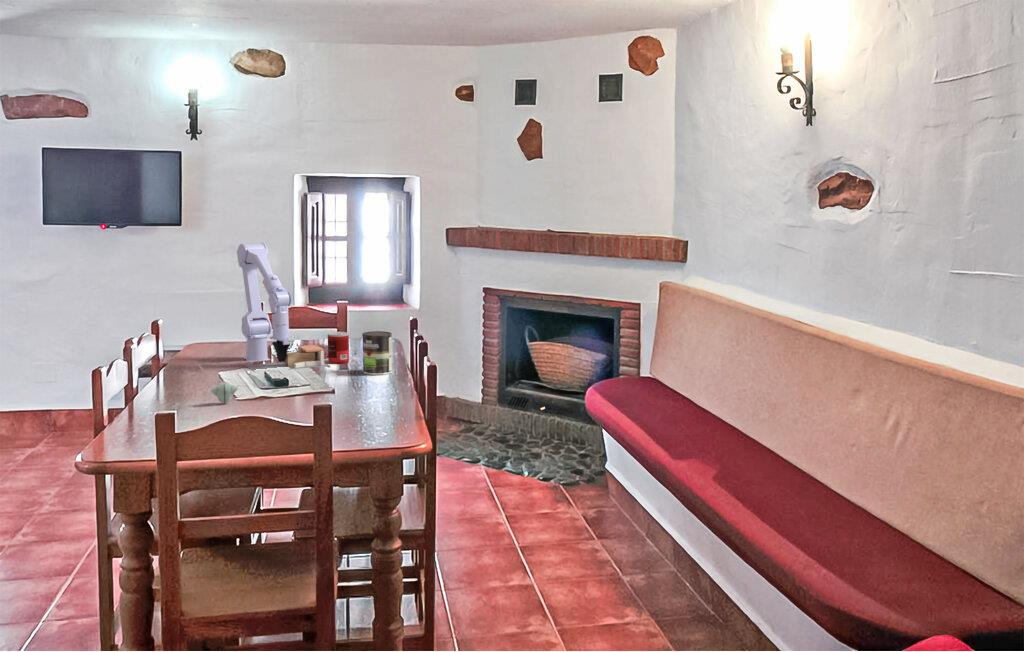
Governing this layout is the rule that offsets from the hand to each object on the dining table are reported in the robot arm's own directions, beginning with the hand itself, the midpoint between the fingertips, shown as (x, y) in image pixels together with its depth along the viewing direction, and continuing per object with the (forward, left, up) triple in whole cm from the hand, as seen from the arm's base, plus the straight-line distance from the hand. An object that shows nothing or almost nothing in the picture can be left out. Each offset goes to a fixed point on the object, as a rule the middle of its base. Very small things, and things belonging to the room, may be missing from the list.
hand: (281, 361), depth 335 cm
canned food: (-1, +22, -2) cm, 22 cm away
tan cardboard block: (0, +7, -2) cm, 7 cm away
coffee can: (+24, +28, -2) cm, 37 cm away
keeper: (0, +2, -2) cm, 3 cm away
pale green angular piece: (+48, -30, -2) cm, 57 cm away
